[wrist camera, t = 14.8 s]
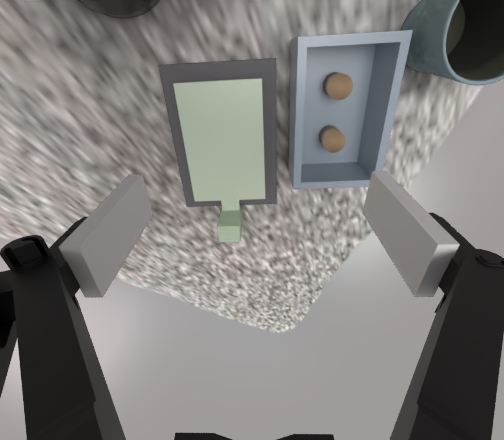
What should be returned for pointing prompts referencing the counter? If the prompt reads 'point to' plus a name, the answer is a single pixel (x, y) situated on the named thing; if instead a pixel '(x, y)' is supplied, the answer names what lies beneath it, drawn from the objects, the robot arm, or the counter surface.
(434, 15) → the teal cup
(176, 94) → the lid
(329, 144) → the dowel
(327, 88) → the dowel
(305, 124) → the tub
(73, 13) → the counter surface
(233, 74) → the mat
